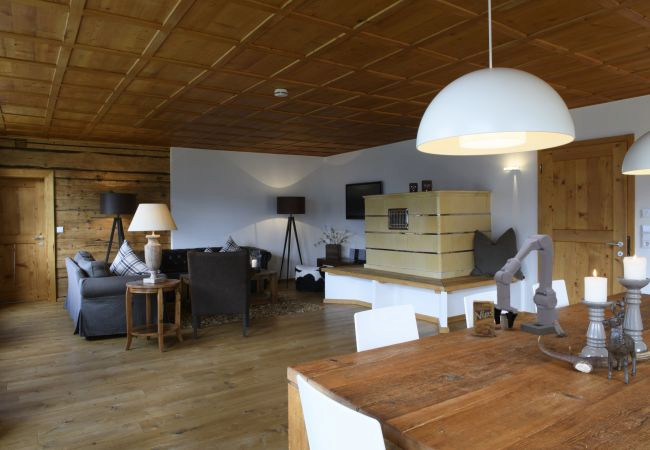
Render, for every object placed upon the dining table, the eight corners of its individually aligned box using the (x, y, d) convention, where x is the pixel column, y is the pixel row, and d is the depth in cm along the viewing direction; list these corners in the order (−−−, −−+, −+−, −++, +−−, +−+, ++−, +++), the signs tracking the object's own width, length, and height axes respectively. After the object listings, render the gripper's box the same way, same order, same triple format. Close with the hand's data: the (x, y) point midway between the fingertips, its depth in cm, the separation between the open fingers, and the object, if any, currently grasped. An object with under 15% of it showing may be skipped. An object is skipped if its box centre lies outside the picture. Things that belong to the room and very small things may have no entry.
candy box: (473, 335, 203) (472, 301, 203) (473, 333, 207) (473, 299, 207) (494, 337, 200) (493, 302, 200) (494, 334, 204) (493, 300, 204)
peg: (504, 329, 214) (503, 313, 213) (509, 330, 211) (509, 314, 210) (498, 330, 212) (498, 313, 212) (504, 331, 209) (503, 315, 209)
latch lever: (559, 337, 197) (562, 333, 197) (564, 338, 195) (567, 335, 195) (550, 321, 194) (553, 318, 195) (555, 322, 192) (558, 319, 193)
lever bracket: (558, 336, 198) (558, 331, 198) (569, 339, 194) (568, 334, 194) (556, 337, 198) (556, 331, 198) (566, 340, 193) (566, 334, 193)
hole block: (536, 330, 210) (536, 321, 210) (555, 335, 201) (555, 326, 201) (520, 332, 206) (520, 324, 206) (539, 338, 197) (539, 329, 197)
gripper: (485, 295, 216) (486, 323, 216) (509, 300, 203) (509, 330, 203) (496, 293, 219) (497, 322, 219) (520, 298, 206) (521, 328, 206)
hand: (504, 326), depth 211 cm, fingers open, 7 cm apart
